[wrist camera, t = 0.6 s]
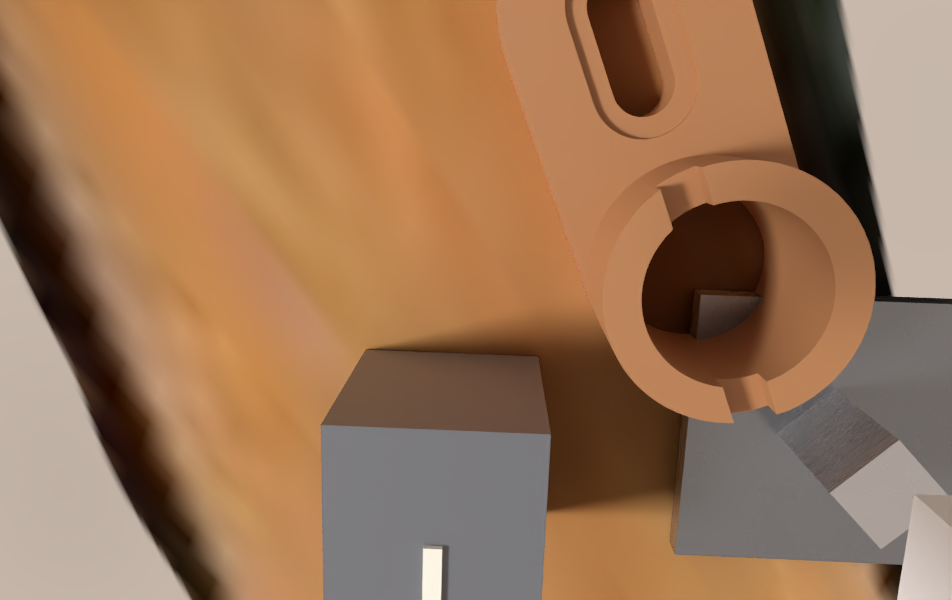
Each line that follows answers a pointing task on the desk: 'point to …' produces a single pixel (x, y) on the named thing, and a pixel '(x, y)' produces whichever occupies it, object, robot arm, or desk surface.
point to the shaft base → (771, 482)
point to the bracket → (691, 200)
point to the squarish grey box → (436, 479)
